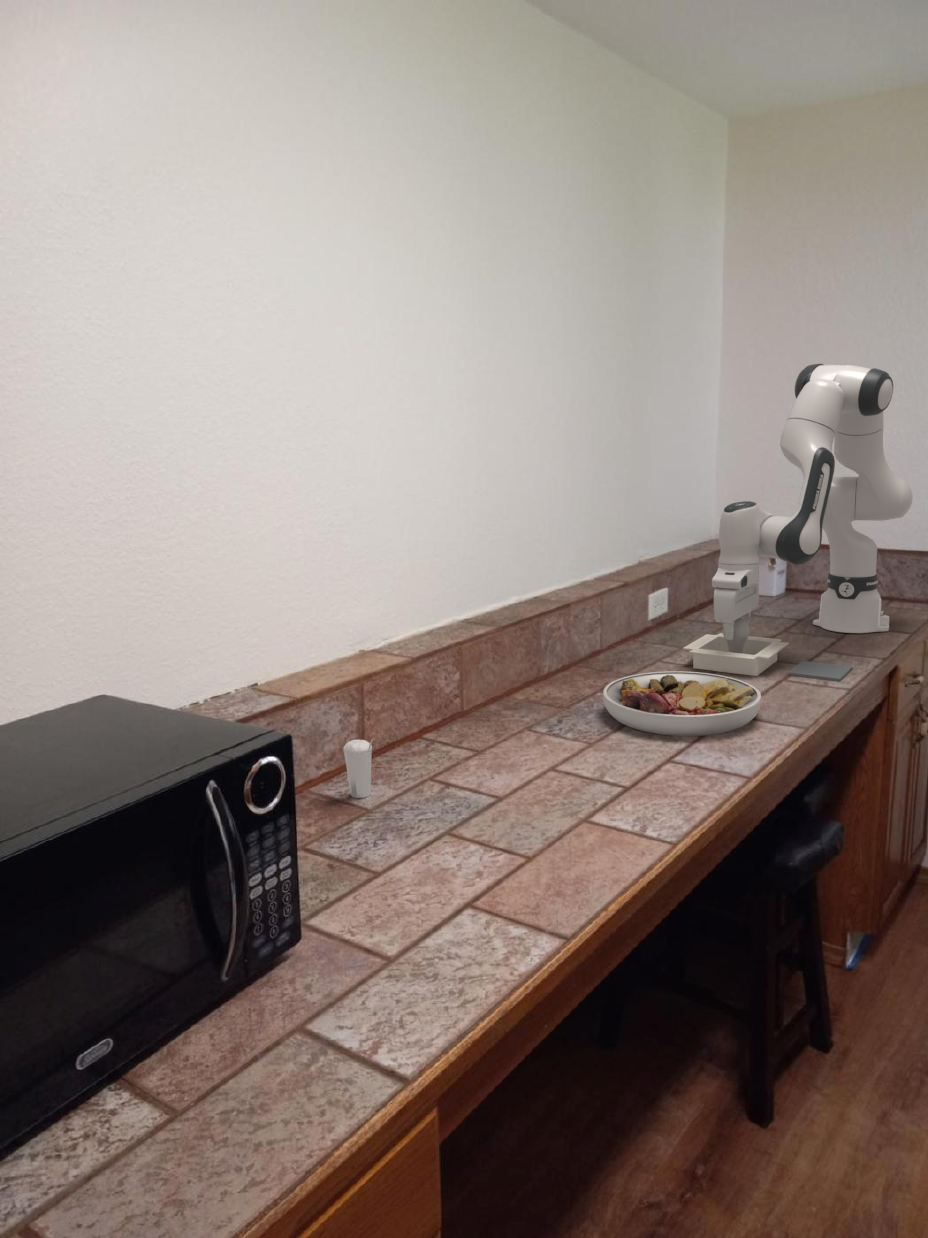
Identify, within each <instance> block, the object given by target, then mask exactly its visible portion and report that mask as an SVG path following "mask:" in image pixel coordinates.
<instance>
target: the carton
mask: <svg viewBox="0 0 928 1238" xmlns="http://www.w3.org/2000/svg"><path fill="white" fill-rule="evenodd" d="M789 644H790V643H789V642H786V641H785V642H783V641H782V639H780V638H771V637H761V636H751V635H749V637H748V639H747V641H746V642H745V645H744V648H743V653H742V654H741V653H732V652H729V648H728V644H727V642H726V640H725V638H724V636H723V632H720V633H718V634H708V633H706V634H704V635H702V636H701V637H699V638H697V639H696V640H694V641H692V642H690V643H689V644H687V645H686V646H684V647H683V648H682V649H683V650H688V651H689V650H690V651H689V654H693V655H692V656H693V658H692V659H693V663H692V666H693V669H699V670H705V671H713V672H719V673H720V672H722V673H729V674H735V675H736V674H737V675H743V676H744V675H745V676H752V677H758V676H759V675H760V674H761V673H763V672H764V671H765V670H767V669H768V668H769V667H771V666H772V665H773V664H775V663H776V662H777V661H778V653H779V652H780V651H782V650H783V649H784V648H786V647H787V646H788V645H789Z"/></svg>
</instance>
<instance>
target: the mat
mask: <svg viewBox="0 0 928 1238" xmlns="http://www.w3.org/2000/svg"><path fill="white" fill-rule="evenodd" d="M853 669H854V667H853V666H851V665H845V664H836V663H835V664H834V663H825V662H818V661H817V662H816V661H810V660H809V661H808V660H807V661H806V660H802V661H800V662H799V663H798V664H796V666H794V667H793V668H791V669H790V670H789V671H788V672H787V675H788V676H793V677H801V678H808V679H816V680H817V679H818V680H826V681H834V682H842V680H843V679H844V678H845V677H846V676H847V675H848V674H849V673H850V672H851V671H853Z"/></svg>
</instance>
